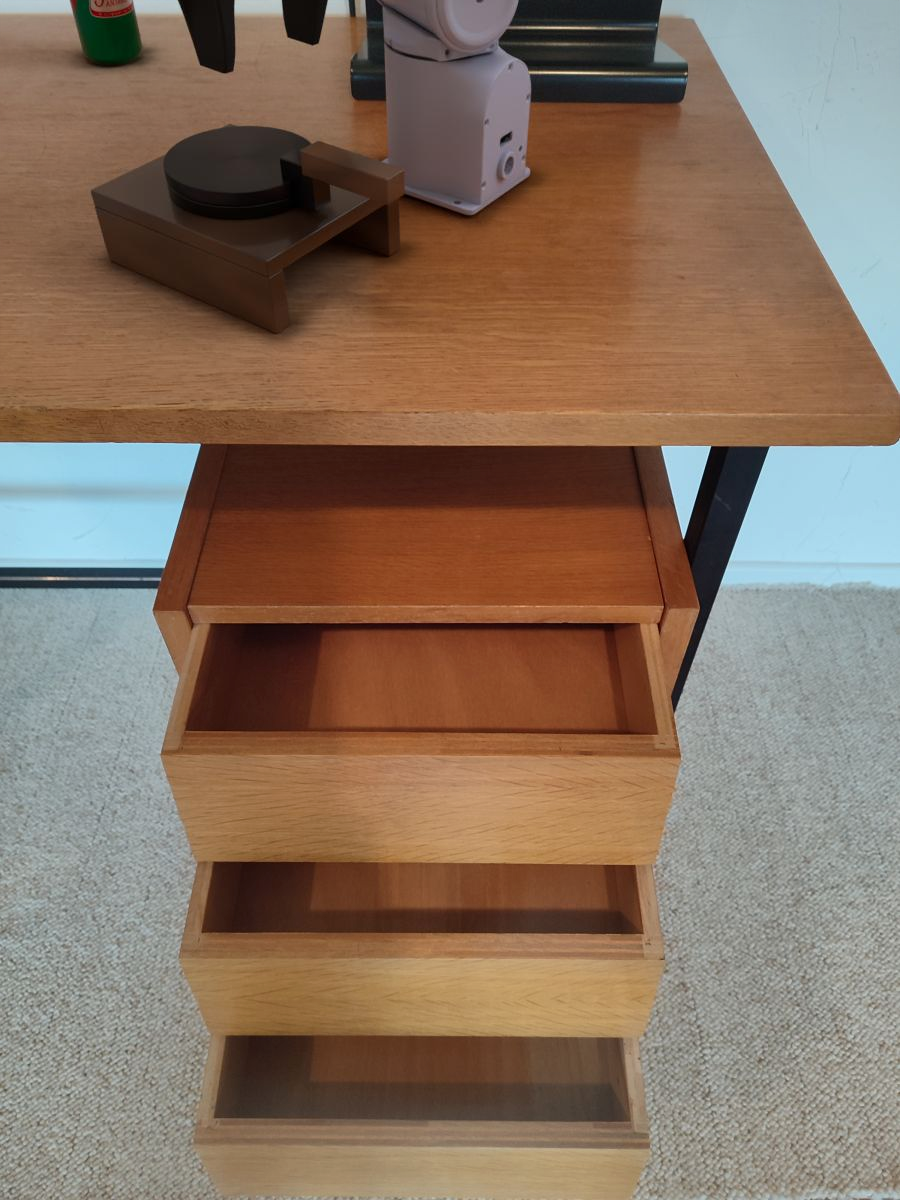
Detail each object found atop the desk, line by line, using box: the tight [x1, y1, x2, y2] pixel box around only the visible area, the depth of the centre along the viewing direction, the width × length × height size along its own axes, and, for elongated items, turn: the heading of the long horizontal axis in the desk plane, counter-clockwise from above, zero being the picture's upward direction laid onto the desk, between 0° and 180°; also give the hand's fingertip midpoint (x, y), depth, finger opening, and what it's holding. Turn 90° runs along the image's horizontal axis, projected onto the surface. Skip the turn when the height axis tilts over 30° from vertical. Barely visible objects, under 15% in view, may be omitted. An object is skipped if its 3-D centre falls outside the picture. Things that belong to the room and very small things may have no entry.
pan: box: [163, 125, 406, 220], centre depth 53 cm, size 16×9×4 cm, turn 55°
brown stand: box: [90, 123, 401, 334], centre depth 57 cm, size 14×12×4 cm
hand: (261, 54), depth 55 cm, fingers open, 7 cm apart
